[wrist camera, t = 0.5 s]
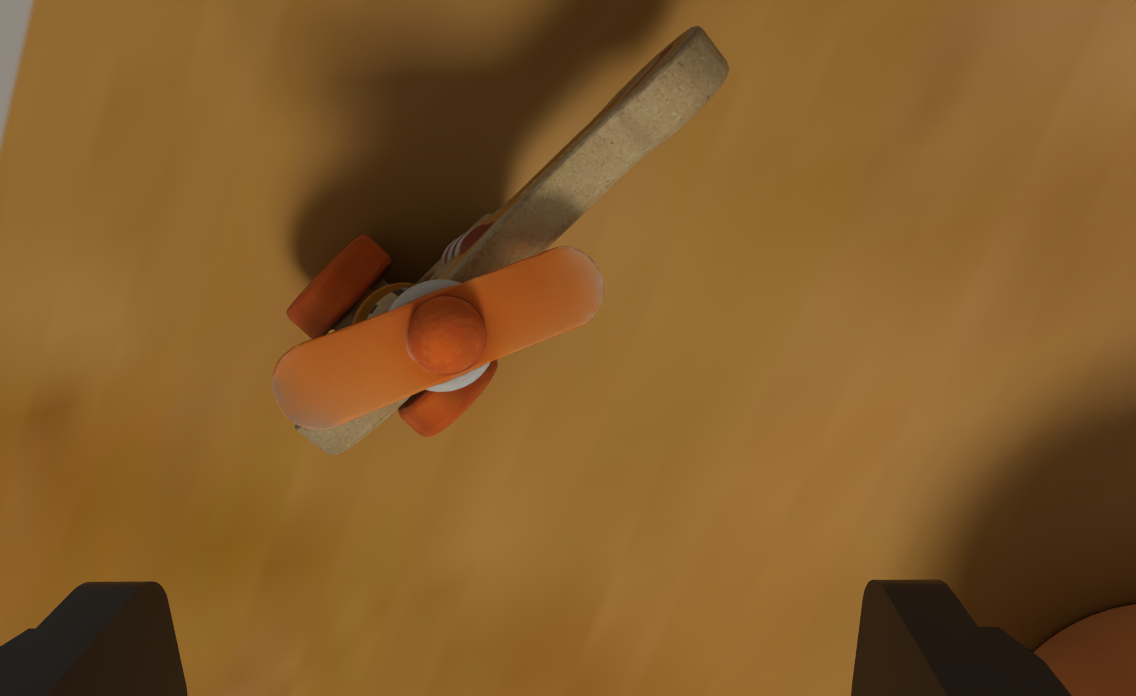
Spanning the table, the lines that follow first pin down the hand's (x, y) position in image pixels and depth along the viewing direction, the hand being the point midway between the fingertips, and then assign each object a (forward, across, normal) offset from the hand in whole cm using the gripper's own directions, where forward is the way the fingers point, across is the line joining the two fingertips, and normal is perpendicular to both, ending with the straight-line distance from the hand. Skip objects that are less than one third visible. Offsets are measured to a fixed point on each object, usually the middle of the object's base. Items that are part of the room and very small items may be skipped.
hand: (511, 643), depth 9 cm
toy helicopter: (+28, +3, +1) cm, 28 cm away
